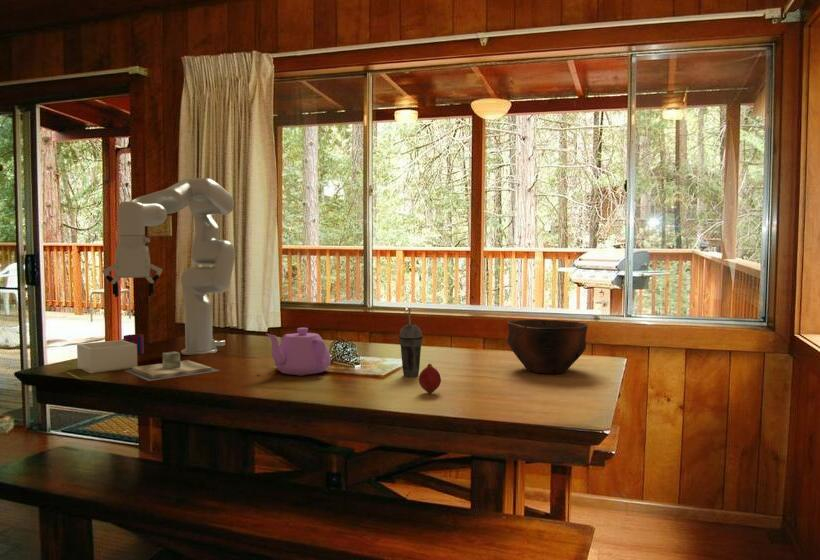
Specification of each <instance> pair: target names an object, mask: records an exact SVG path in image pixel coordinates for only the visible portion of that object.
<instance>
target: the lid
mask: <svg viewBox="0 0 820 560" xmlns="http://www.w3.org/2000/svg"><path fill="white" fill-rule="evenodd" d="M212 368H213V367H211V366H208V365H205V364H202V363H198V362H195V361H192V360H189V359H185V360H181V353H180V352H178V351H168V352H162V363H155V364H145V365H137V367H132V368H131V369H132V370H133V371H135V372H137V373H140V374H142V375H145V376H147V377H150V378H152V379H156V378H163V377H170V376H178V375H185V374H192V373H199V372H206V371H212Z"/></svg>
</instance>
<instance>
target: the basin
mask: <svg viewBox="0 0 820 560" xmlns="http://www.w3.org/2000/svg"><path fill="white" fill-rule="evenodd" d="M76 351H77V352H76V353H77V369H78V370H79V369H81V370H82V371H84V372H87V373H89V374H96V373H103V372H104V373H105V372H111V371H112V372H113V371H121V370H129V369H132V367H137V366H138V355H137V344H134V343H131V342H128V341H124V340H122V339H119V340H109V341H108V340H107V341H97V342H87V343H86V342H85V343H77V344H76Z"/></svg>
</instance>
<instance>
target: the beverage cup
mask: <svg viewBox="0 0 820 560" xmlns="http://www.w3.org/2000/svg"><path fill="white" fill-rule="evenodd" d="M411 318H412V317H411V309H408V324H405V325H404V326H403V327H402V328H401V329H400V331H399V334H398V339H399V345H400V354H401V355H400V356H401V365H402V373H403V377H405V378H415V377H416V378H417V377H419V375H420V365H421V352H422V345H423V338H424V335H423V332H422V330H421V329H420V327H419V326H418V325H417V324H413V323H412V321H411Z"/></svg>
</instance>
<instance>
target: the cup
mask: <svg viewBox="0 0 820 560" xmlns="http://www.w3.org/2000/svg"><path fill="white" fill-rule="evenodd" d="M121 340H124V341H128V342H131V343H134V344H137V356H138V355H139V356H140V355H143V354H144V353H145V350H144V348H145V346H144V342H145V341H144V334H137V333H136V334H126V335H123V338H122V339H121Z"/></svg>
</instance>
